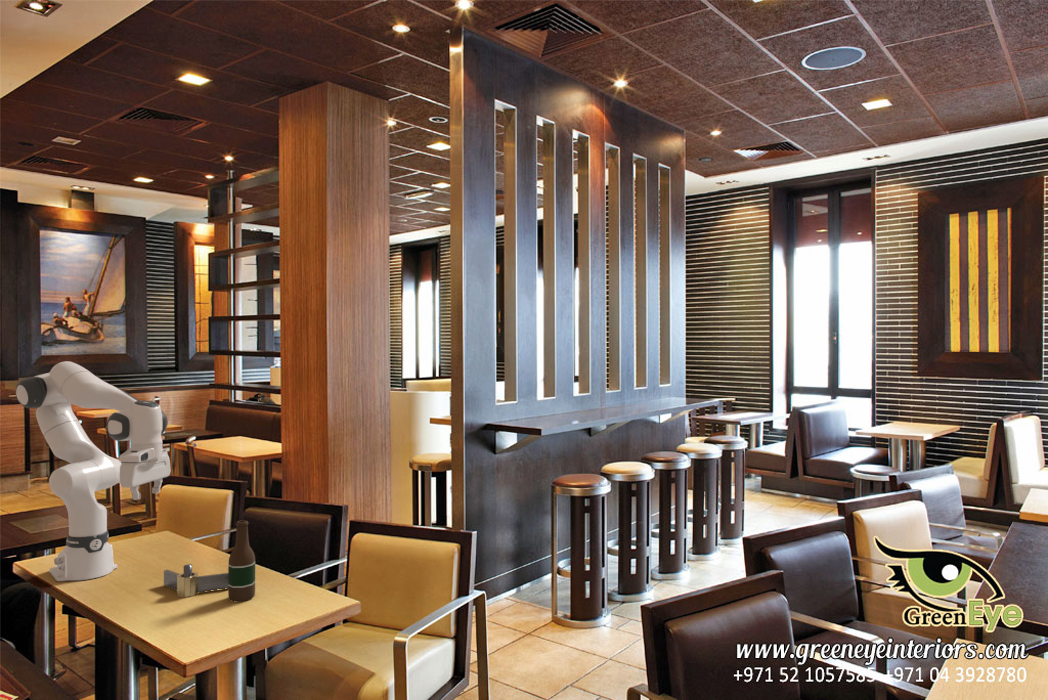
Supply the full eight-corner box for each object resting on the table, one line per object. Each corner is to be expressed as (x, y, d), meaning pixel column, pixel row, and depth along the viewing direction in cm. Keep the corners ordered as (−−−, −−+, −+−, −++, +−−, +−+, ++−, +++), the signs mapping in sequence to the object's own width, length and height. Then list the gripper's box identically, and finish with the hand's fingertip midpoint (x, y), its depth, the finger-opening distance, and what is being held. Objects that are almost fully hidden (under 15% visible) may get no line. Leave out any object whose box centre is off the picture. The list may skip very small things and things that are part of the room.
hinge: (156, 587, 223) (156, 569, 223) (201, 575, 235) (201, 557, 235) (190, 601, 211) (191, 582, 211) (236, 587, 223) (236, 569, 223)
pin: (182, 594, 218) (182, 565, 217) (189, 591, 220) (189, 563, 219) (186, 595, 216) (186, 567, 216) (193, 593, 218) (193, 565, 218)
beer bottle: (260, 595, 217) (260, 519, 217) (243, 603, 210) (243, 525, 209) (240, 592, 219) (240, 517, 219) (222, 600, 212) (222, 523, 212)
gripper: (157, 447, 228) (157, 489, 228) (115, 457, 207) (115, 503, 207) (175, 447, 227) (175, 489, 227) (135, 457, 207) (135, 503, 207)
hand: (146, 496), depth 217 cm, fingers open, 8 cm apart
